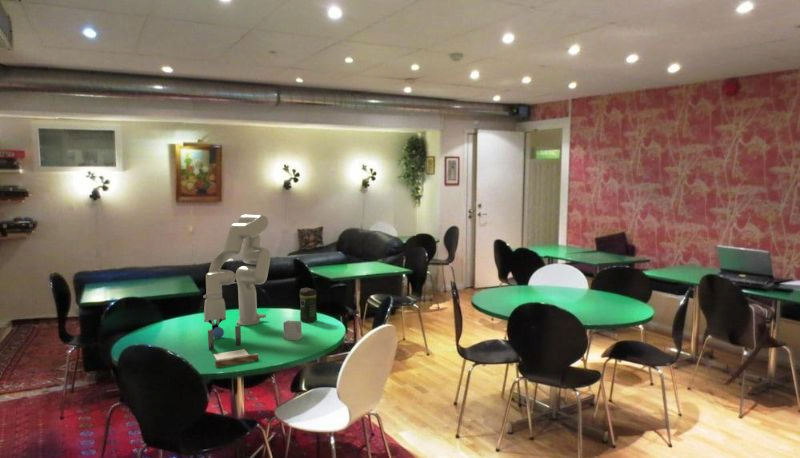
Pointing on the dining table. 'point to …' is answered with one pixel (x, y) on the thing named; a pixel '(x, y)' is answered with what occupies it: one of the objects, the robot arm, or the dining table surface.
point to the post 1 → (211, 339)
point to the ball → (218, 332)
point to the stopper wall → (236, 360)
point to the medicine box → (292, 330)
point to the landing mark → (230, 354)
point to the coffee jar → (308, 305)
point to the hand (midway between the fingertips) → (215, 332)
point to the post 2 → (238, 335)
